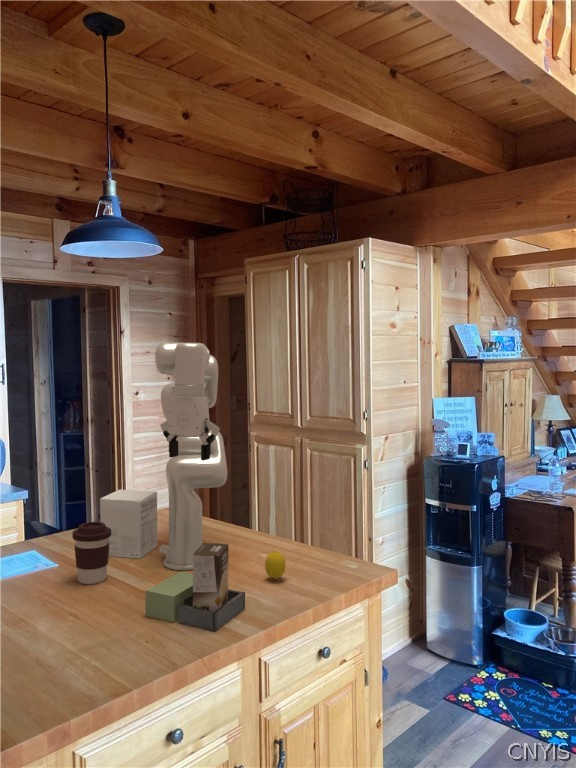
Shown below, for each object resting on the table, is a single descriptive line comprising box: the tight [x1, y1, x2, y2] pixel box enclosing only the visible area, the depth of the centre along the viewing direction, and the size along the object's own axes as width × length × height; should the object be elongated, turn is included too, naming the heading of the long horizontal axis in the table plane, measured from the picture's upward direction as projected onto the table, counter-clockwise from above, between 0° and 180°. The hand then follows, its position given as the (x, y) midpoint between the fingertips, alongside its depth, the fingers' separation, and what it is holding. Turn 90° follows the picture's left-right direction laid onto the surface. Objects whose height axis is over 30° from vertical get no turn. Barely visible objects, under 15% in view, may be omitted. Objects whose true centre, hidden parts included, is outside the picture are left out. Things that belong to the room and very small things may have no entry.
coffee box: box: [192, 542, 229, 612], centre depth 145 cm, size 9×6×16 cm
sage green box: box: [145, 571, 193, 623], centre depth 150 cm, size 8×14×6 cm, turn 155°
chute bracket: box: [177, 588, 246, 632], centre depth 146 cm, size 10×14×4 cm
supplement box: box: [99, 489, 158, 560], centre depth 192 cm, size 13×13×18 cm
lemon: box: [264, 550, 286, 581], centre depth 169 cm, size 6×6×8 cm
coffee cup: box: [72, 521, 111, 585], centre depth 167 cm, size 10×10×15 cm
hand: (189, 458), depth 160 cm, fingers open, 9 cm apart
